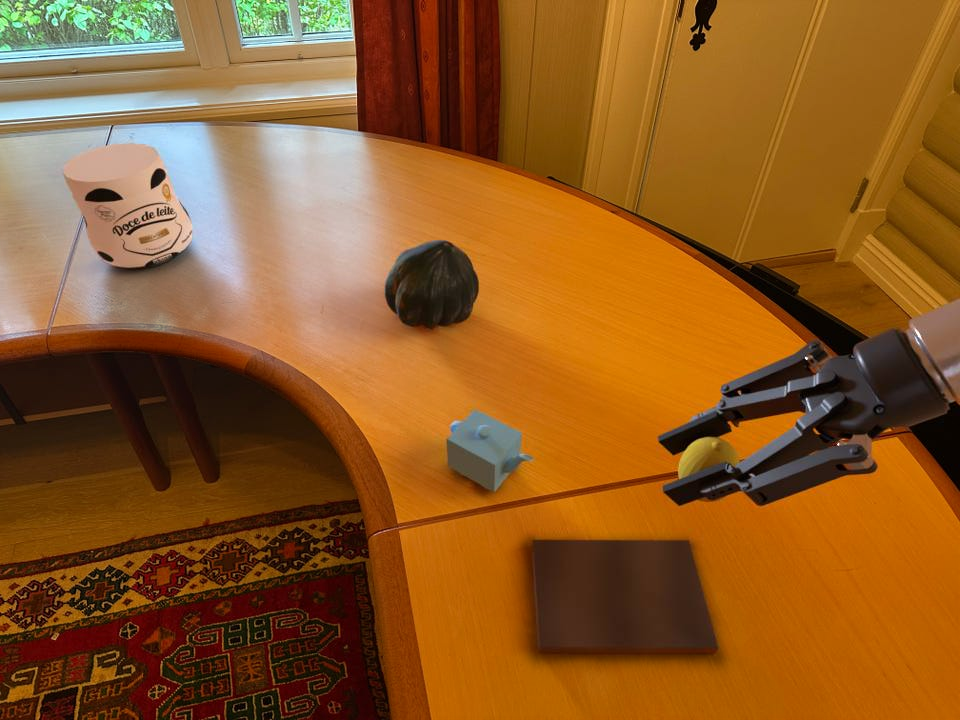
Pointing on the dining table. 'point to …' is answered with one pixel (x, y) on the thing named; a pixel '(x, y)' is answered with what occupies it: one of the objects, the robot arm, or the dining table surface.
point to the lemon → (706, 457)
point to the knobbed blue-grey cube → (484, 449)
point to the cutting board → (619, 597)
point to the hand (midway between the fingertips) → (668, 469)
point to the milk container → (128, 205)
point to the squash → (432, 285)
